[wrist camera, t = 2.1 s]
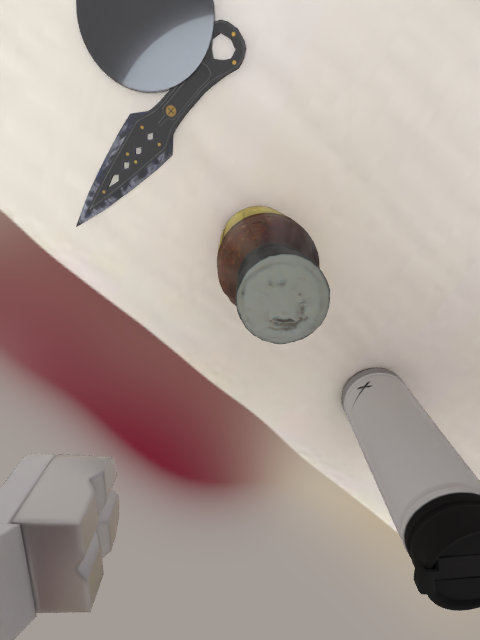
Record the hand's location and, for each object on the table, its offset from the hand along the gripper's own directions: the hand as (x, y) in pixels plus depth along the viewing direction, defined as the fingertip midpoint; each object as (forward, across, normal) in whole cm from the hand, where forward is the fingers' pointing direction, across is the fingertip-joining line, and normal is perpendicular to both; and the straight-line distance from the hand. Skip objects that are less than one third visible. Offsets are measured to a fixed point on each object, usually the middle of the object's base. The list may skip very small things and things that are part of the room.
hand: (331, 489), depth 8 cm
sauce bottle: (+30, 0, 0) cm, 31 cm away
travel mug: (+30, +12, -15) cm, 36 cm away
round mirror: (+30, -9, +16) cm, 35 cm away
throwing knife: (+31, -9, +8) cm, 33 cm away
